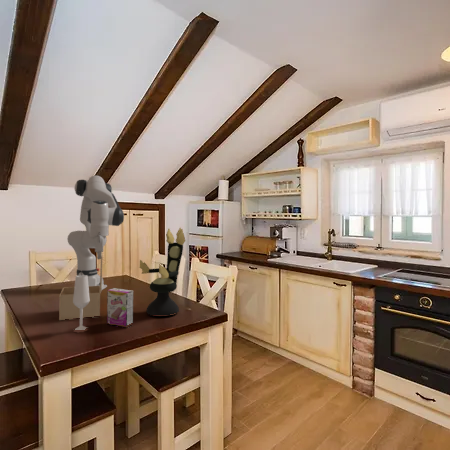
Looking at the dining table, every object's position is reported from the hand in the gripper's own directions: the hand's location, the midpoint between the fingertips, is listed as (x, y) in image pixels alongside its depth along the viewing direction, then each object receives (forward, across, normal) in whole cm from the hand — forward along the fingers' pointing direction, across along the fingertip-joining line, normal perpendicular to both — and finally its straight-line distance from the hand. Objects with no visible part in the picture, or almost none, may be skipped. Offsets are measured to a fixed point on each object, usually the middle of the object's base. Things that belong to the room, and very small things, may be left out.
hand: (99, 258), depth 165 cm
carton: (+28, 0, +8) cm, 29 cm away
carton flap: (+7, 0, -1) cm, 7 cm away
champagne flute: (+28, -24, +7) cm, 38 cm away
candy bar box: (+28, -22, -9) cm, 37 cm away
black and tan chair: (+28, -9, -33) cm, 44 cm away
